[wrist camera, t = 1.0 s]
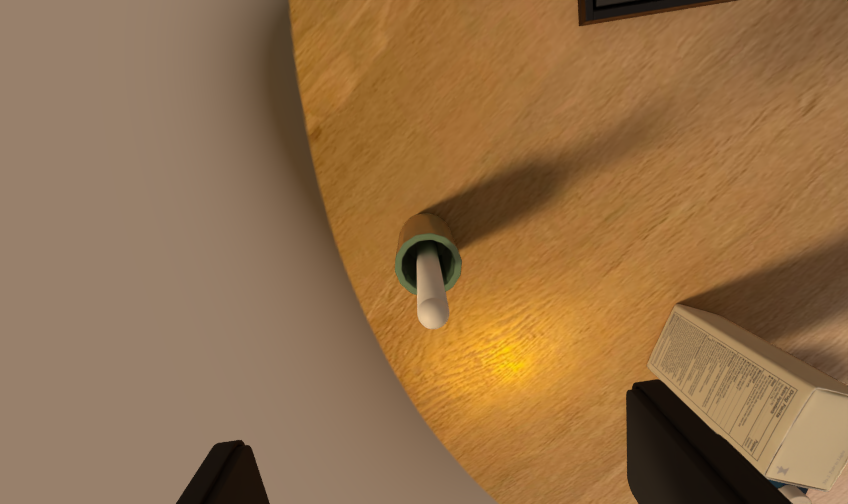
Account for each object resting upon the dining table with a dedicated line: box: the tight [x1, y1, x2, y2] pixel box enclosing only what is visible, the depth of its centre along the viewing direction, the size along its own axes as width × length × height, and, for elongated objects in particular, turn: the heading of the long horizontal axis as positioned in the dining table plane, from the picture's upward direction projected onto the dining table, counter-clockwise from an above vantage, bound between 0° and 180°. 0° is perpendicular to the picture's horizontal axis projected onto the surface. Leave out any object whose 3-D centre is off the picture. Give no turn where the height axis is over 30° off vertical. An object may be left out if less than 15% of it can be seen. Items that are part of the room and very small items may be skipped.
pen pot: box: [395, 213, 462, 295], centre depth 27 cm, size 4×4×7 cm
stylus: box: [416, 240, 449, 329], centre depth 24 cm, size 1×1×14 cm
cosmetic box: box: [647, 304, 848, 492], centre depth 28 cm, size 6×4×12 cm
